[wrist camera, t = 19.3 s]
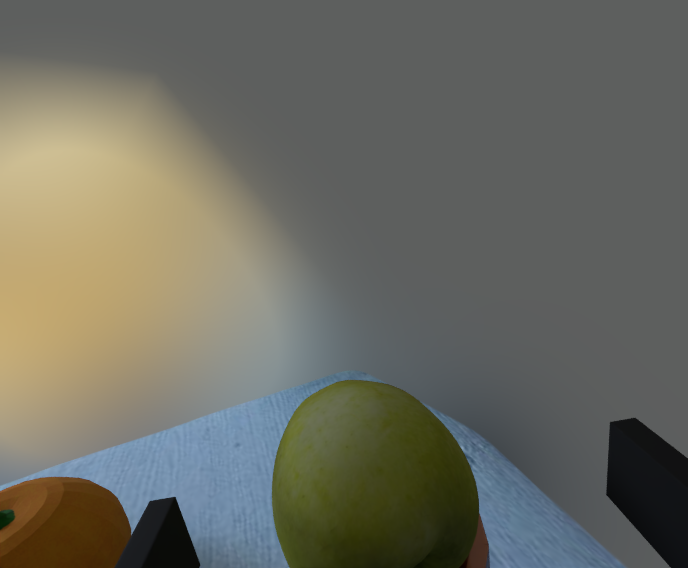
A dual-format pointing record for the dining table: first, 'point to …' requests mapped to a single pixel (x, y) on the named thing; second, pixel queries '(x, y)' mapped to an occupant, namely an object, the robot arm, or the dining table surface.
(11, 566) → the fruit
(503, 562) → the dining table surface
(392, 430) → the apple
